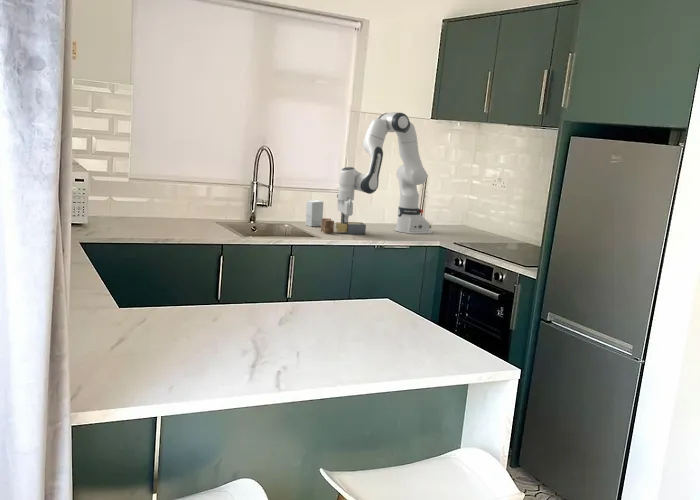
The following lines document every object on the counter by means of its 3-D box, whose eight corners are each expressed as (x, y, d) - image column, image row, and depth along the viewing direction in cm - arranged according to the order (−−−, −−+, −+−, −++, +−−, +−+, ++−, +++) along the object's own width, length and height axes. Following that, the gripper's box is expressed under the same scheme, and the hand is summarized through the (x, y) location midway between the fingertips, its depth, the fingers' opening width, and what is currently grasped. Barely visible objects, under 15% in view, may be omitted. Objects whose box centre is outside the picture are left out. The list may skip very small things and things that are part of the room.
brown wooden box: (329, 231, 399) (330, 218, 398) (333, 234, 391) (334, 221, 389) (320, 230, 398) (321, 218, 397) (324, 233, 389) (325, 220, 388)
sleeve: (361, 232, 404) (362, 222, 403) (365, 234, 396) (366, 224, 395) (344, 231, 401) (345, 221, 400) (348, 234, 393) (348, 224, 392)
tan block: (359, 230, 401) (360, 215, 400) (361, 232, 397) (363, 216, 395) (335, 230, 398) (336, 214, 396) (337, 231, 393) (338, 215, 392)
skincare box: (316, 224, 419) (318, 199, 417) (322, 226, 415) (324, 201, 412) (304, 225, 414) (306, 200, 411) (311, 227, 410) (312, 201, 407)
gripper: (356, 199, 384) (354, 224, 387) (347, 194, 403) (345, 218, 406) (345, 198, 382) (343, 224, 385) (336, 194, 402) (334, 218, 404)
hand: (344, 221), depth 396 cm, fingers closed on tan block, 4 cm apart
